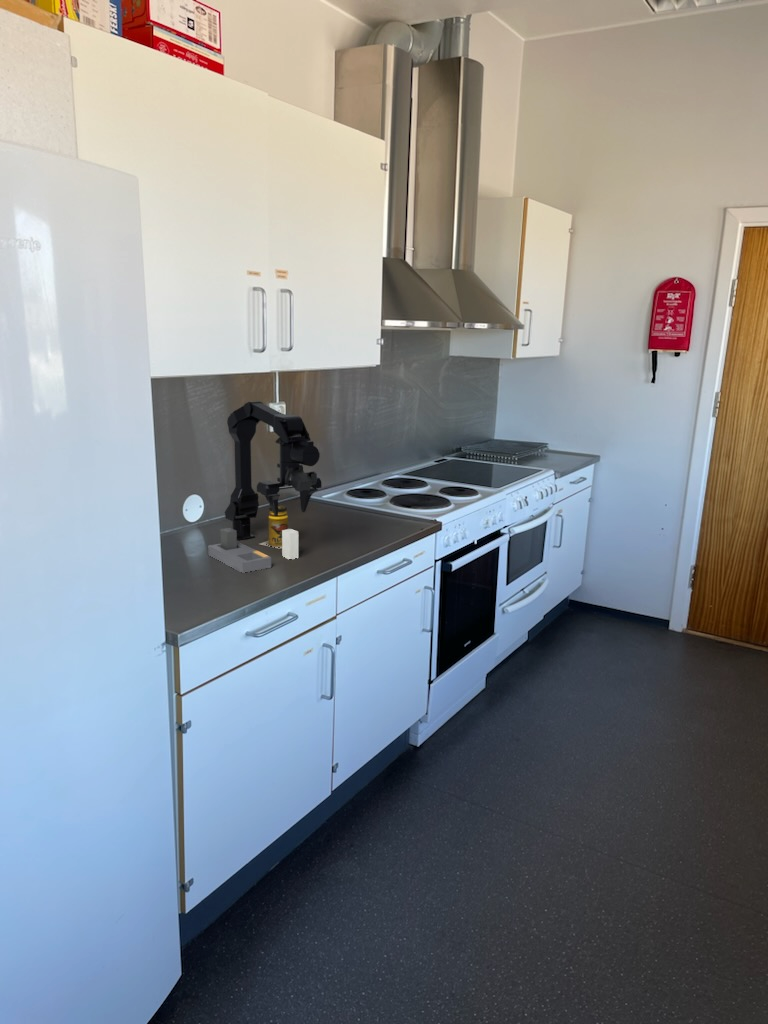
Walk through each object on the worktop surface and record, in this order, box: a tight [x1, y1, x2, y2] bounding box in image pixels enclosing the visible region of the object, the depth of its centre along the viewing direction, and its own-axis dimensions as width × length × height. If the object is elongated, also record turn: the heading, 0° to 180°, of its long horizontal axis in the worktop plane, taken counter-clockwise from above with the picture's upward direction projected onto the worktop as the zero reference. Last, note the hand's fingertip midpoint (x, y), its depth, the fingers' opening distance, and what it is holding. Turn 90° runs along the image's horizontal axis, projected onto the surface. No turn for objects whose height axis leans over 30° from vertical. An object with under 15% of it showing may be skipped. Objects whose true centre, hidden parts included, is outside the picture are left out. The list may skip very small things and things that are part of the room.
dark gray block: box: [219, 527, 238, 550], centre depth 215 cm, size 4×3×8 cm
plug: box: [281, 528, 299, 560], centre depth 216 cm, size 4×3×8 cm
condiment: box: [259, 504, 289, 550], centre depth 228 cm, size 7×8×12 cm
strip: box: [207, 540, 272, 574], centre depth 211 cm, size 20×9×3 cm, turn 40°
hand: (290, 514), depth 214 cm, fingers open, 9 cm apart
